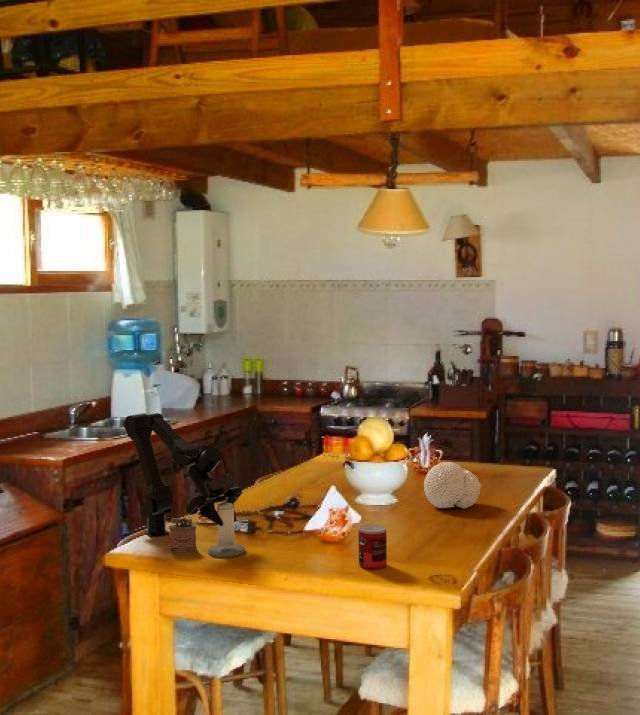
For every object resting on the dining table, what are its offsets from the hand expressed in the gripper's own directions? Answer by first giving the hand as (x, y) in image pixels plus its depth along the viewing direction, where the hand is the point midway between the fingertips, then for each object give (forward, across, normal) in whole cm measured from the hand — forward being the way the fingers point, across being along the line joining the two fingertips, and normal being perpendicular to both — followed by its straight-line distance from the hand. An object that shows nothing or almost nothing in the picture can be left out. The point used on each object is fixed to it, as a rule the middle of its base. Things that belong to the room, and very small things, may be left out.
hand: (228, 523), depth 290 cm
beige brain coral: (+22, +86, -9) cm, 89 cm away
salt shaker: (+4, 0, +6) cm, 7 cm away
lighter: (-3, -7, +16) cm, 17 cm away
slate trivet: (+6, 0, +7) cm, 9 cm away
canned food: (+35, +17, -23) cm, 45 cm away
